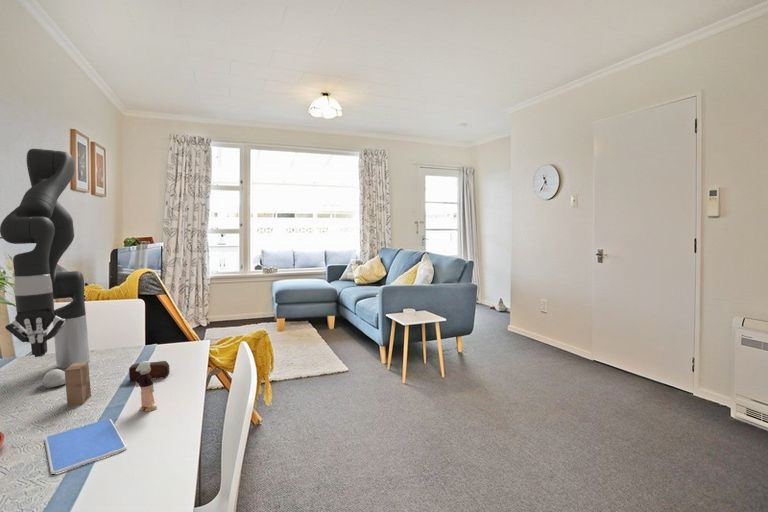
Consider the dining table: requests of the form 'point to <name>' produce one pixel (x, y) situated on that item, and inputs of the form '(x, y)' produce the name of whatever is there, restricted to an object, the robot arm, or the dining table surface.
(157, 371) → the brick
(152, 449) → the dining table surface
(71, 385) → the marked cardboard box
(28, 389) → the dining table surface
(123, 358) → the dining table surface
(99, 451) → the tablet computer
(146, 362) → the grandmother figurine
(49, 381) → the white seashell
